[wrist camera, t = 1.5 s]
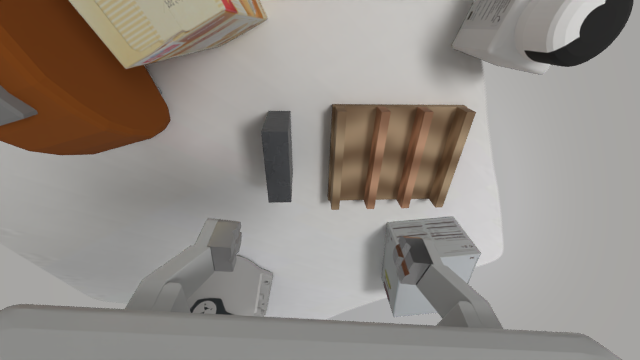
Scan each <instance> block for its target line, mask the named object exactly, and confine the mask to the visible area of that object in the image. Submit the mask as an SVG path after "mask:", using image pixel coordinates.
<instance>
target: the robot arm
mask: <svg viewBox="0 0 640 360" xmlns="http://www.w3.org/2000/svg"><path fill="white" fill-rule="evenodd" d="M240 229H241V222H238V221H230V220H221V219H211V218H208V219H207V220H206V222H205V224H204V226H203V228H202V230H201V232H200V234H199V237H198V239H197V241H196V243H195V245H194V246H189V247H188V248H187V249H185V250H184V251H182V252H181V253H180V254H178V255H177V256H175V257H174V258H172V259H171V260H170V261H168V262H167V263H165V264H164V265H162V266H161V267H160V268H158V269H157V270H155V271H154V272H153V273H151V274H150V275H148V276H147V277H145V278H144V279H143V280H142V281H141V283H140V284H139V286H138V288H137V289H136V291H135V293H134V294H133V296H132V298H131V299H130V301H129V303H128V304H127V306H126V308H125V309H109V308H90V307H72V306H71V307H70V306H53V305H52V306H51V305H33V304H19V305H13V306H9V307H6V308H4V309H2V310H0V360H622V359H621V358H619V357H618V356H616V355H615V354H613V353H612V352H611V351H609V350H608V349H607V348H605V347H604V346H602V345H601V344H599V343H598V342H596V341H595V340H593V339H592V338H590V337H588V336H586V335H584V334H580V333H568V332H547V331H527V330H508V329H503V328H502V326H501V324H500V322H499V320H498V318H497V317H496V315H495V313H494V311H493V309H492V307H491V306H490V304H489V302H488V301H487V300H485V299H484V298H483V297H482V296H481V295H479V293H477V292H476V291H475V290H474V289H473V288H472V287H471V286H469V285H468V284H467V283H466V282H465V281H464V280H463V279H461V278H460V277H459V276H458V275H457V274H456V273H455V272H453V271H452V270H451V269H450V268H449V267H448V266H445V265H444V264H443V262H442V260H441V258H440V256H439V254H438V252H437V250H436V247H435V245H434V243H433V241H432V240H431V239H430V238H420V237H409V236H401V237H400V238H399V240H398V241H399V244H398V245H396V246H395V248H394V250H393V260H394V264H395V265H396V266H397V267H398V270H397V274H398V277H399V281H400V284H410V285H416V287H417V288H418V289H419V290H420V291H421V293H422V294H423V295H424V296H425V298H426V299H427V300H428V301H429V302H430V304H431V305H432V306H433V307H434V309H435V310H436V311H437V312H438V313H439V315H440V316H441V317H442V318H443V319H442V320H441V321H440V322H439V323H438V324H437V325H436V326H432V325H413V324H394V323H375V322H356V321H336V320H319V319H299V318H280V317H264V315H265V314H266V310H267V305H268V300H269V294H270V289H271V284H272V278H273V274H272V273H271V272H269V271H267V270H264V269H261V268H259V267H258V266H257V265H255V264H254V263H253V262H251V261H250V260H248V259H246V258H243V257H240V256H237V255H236V254H237V253H238V252H239V250H240V246H241V239H242V233H241V232H240Z"/></svg>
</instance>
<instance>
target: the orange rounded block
mask: <svg viewBox="0 0 640 360" xmlns="http://www.w3.org/2000/svg"><path fill="white" fill-rule="evenodd" d="M161 94H162V92H161V90H160V88H158V87H156V85H155V84H154V82H153V80H152V78H151V77H150V75H149V73H148V72H147V70H146V68H145V66H144V65H141V66H137V67H132V68H128V69H125V68H124V66H123V65H122V64H121V63H120V62H119V61H118V59H117V58H116V57H115V56H114V55H113V53H112V52H111V51H110V50H109V48H108V47H107V46H106V45H105V44H104V42H103V41H102V40H101V39H100V38H99V36H98V35H97V34H96V33H95V32H94V30H93V29H92V28H91V27H90V26H89V24H88V23H87V22H86V21H85V20H84V18H83V17H82V16H81V15H80V14H79V12H78V11H77V10H76V9H75V8H74V6H73V5H72V4H71V3H70V2H69V0H0V141H3V142H5V143H8V144H11V145H14V146H17V147H19V148H22V149H25V150H28V151H33V152H41V153H48V154H56V155H84V154H96V153H100V152H103V151H107V150H110V149H114V148H118V147H121V146H125V145H128V144H132V143H135V142H139V141H143V140H146V139H150V138H152V137H154V136H155V135H157V134H159V133H160V132H162V131H163V130H164V129H165V128H166V127H167V125H168V123H169V122H170V115H169V110H168V107H167V105H166V103H165V101H164V99H163V98H162V96H161Z"/></svg>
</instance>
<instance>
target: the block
mask: <svg viewBox="0 0 640 360" xmlns="http://www.w3.org/2000/svg"><path fill="white" fill-rule="evenodd" d="M261 134H262V143H263V152H264V162H265V171H266V181H267V190H268V200H269V203H270V202H291V197H292V178H293V165H292V140H291V114H290V111H269V112H268V115H267V117H266V120H265V123H264V126H263V128H262V131H261Z"/></svg>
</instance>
